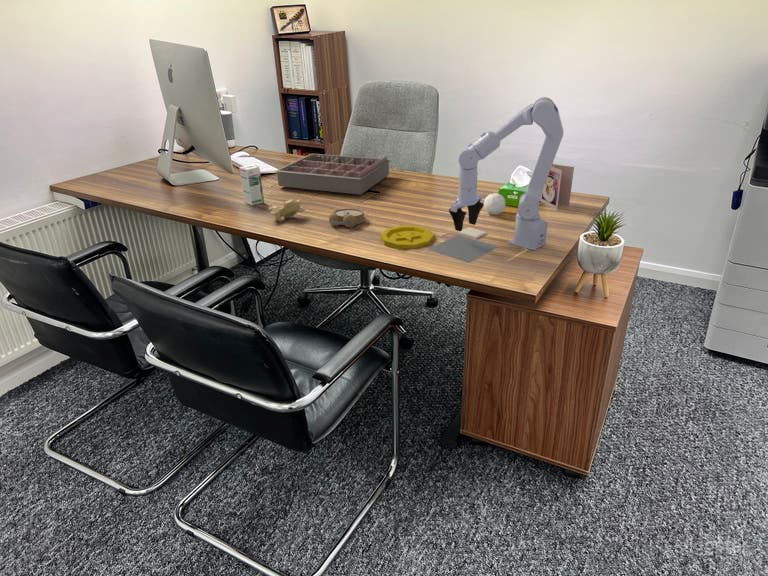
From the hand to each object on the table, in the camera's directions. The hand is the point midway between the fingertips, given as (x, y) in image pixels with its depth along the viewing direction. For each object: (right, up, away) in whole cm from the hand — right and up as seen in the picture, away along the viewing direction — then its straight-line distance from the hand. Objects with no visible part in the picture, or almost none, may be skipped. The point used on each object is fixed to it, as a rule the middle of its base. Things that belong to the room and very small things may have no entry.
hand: (465, 227), depth 183 cm
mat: (-2, -8, -7) cm, 10 cm away
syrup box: (-78, +14, +40) cm, 89 cm away
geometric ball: (+14, +7, +22) cm, 27 cm away
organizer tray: (-48, +26, +62) cm, 83 cm away
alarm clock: (-40, +3, +18) cm, 44 cm away
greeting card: (+38, +11, +30) cm, 50 cm away
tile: (+1, -3, +2) cm, 4 cm away
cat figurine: (-62, +5, +22) cm, 66 cm away
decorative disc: (-19, -4, +2) cm, 20 cm away
